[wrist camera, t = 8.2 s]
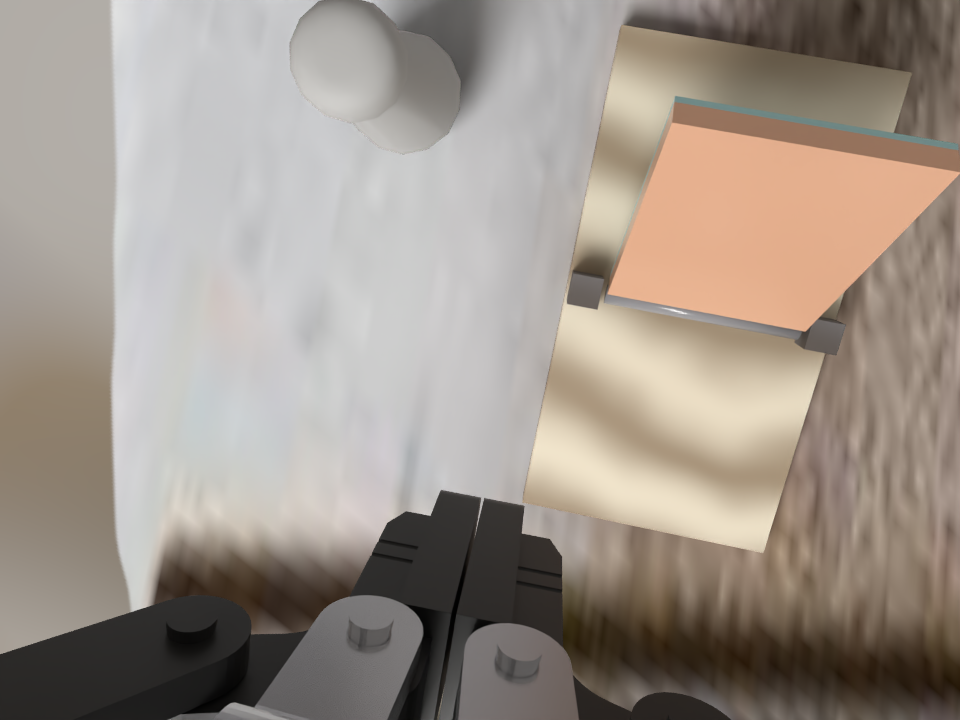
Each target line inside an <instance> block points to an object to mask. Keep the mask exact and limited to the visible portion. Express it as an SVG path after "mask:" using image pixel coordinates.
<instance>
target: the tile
mask: <svg viewBox="0 0 960 720" xmlns="http://www.w3.org/2000/svg"><path fill="white" fill-rule="evenodd" d="M959 174H960V159H959V150H958V144H955V143H950V142H944V141H938V140H932V139H926V138H920V137H914V136H908V135H903V134H897V133H891V132H885V131H879V130H873V129H867V128H861V127H856V126H850V125H844V124H838V123H832V122H826V121H820V120H814V119H809V118H803V117H797V116H791V115H785V114H779V113H773V112H767V111H762V110H756V109H750V108H744V107H738V106H732V105H726V104H720V103H715V102H709V101H703V100H697V99H691V98H685V97H679V96H675V98H674V100H673V103H672V106H671V108H670V111H669V114H668V117H667V119H666V122H665V125H664V128H663V130H662V133H661V136H660V139H659V141H658V144H657V147H656V150H655V152H654V155H653V158H652V161H651V163H650V166H649V169H648V172H647V174H646V177H645V180H644V183H643V185H642V188H641V191H640V194H639V196H638V199H637V202H636V205H635V207H634V210H633V213H632V216H631V218H630V221H629V224H628V227H627V229H626V232H625V235H624V238H623V240H622V243H621V246H620V249H619V251H618V254H617V257H616V260H615V262H614V265H613V268H612V271H611V274H610V281H609V285H607V287H606V291H605V296H604V303H605V304H610V305H616V306H621V307H626V308H631V309H637V310H642V311H647V312H652V313H658V314H663V315H668V316H673V317H679V318H684V319H689V320H694V321H700V322H705V323H710V324H715V325H721V326H726V327H731V328H736V329H742V330H747V331H752V332H757V333H763V334H768V335H773V336H779V337H784V338H789V339H794V340H797V339H799V337H800V335H801V333H802V331H804V332H805V331H806V330H807V329H808V328H809V327H810V326H811V325H812V324H813V323H814V322H815V321H816V320H817V319H818V318H819V317H820V316H821V315H822V314H823V313H824V312H825V311H826V310H827V309H828V308H829V307H830V306H831V305H832V304H833V303H834V302H835V301H836V300H837V299H838V298H839V297H840V296H841V295H842V294H843V293H844V292H845V291H846V290H847V288H848V287H849V286H850V285H851V284H852V283H853V282H854V281H855V280H856V279H857V278H858V277H859V276H860V275H861V274H862V273H863V272H864V271H865V270H866V269H867V268H868V267H869V266H870V265H871V264H872V263H873V262H874V261H875V260H876V259H877V258H878V257H879V256H880V255H881V254H882V253H883V252H884V251H885V250H886V249H887V248H888V247H889V246H890V244H891V243H892V242H893V241H894V240H895V239H896V238H897V237H898V236H899V235H900V234H901V233H902V232H903V231H904V230H905V229H906V228H907V227H908V226H909V225H910V224H911V223H912V222H913V221H914V220H915V219H916V218H917V217H918V216H919V215H920V214H921V213H922V212H923V211H924V210H925V209H926V208H927V207H928V206H929V205H930V204H931V203H932V202H933V201H934V199H935V198H936V197H937V196H938V195H939V194H940V193H941V192H942V191H943V190H944V189H945V188H946V187H947V186H948V185H949V184H950V183H951V182H952V181H953V180H954V179H955V178H956V177H957V176H958V175H959Z"/></svg>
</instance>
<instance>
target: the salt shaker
mask: <svg viewBox="0 0 960 720" xmlns="http://www.w3.org/2000/svg"><path fill="white" fill-rule="evenodd" d="M290 70H291V72H292V75H293V77H294V79H295V81H296V84H297V86H298V88H299V91H300V93H301V95H302V96H303V97H304V98H305V99H306V100H307V101H308V102H310V103H311V104H312V105H313V106H314V107H315V108H317V109H318V110H319V111H320V112H321V113H322V114H323V115H325V116H328V117H331V118H334V119H338V120H341V121H345V122H348V123H353V124H354V125H355V126H356V128H357V129H358V130H359V131H360V132H361V133H362V134H363V135H365V136H366V137H367V138H368V139H369V140H370V141H371V142H372V143H374V144H375V145H376V146H377V147H378V148H381V149H385V150H388V151H392V152H395V153H399V154H402V155H404V154H409V153H413V152H418V151H423V150H427V149H429V148H430V147H431V146H433V145H434V144H435V143H437V142H438V141H439V140H440V139H442V138H443V137H444V136H446V135H447V134H448V133H449V131H450V129H451V127H452V124H453V122H454V120H455V118H456V116H457V114H458V112H459V109H460V89H461V80H460V78H459V76H458V73H457V71H456V69H455V67H454V64H453V62H452V60H451V57H450V55H449V54H447V53H446V52H445V51H444V50H443V49H442V48H441V47H440V46H439V45H438V44H437V43H436V42H435V41H434V40H433V39H432V38H431V37H429V36H425V35H420V34H416V33H412V32H408V31H404V30H398V28H397V26H396V25H395V23H394V22H393V21H392V20H391V19H390V18H389V17H388V16H387V15H386V14H385V13H383V12H382V11H381V10H380V9H379V8H378V7H377V6H376V5H375V4H373V3H370V2H366V1H362V0H322V1H319V2H317V3H316V4H315V5H314V6H313V7H312V8H311V9H310V10H309V11H308V12H306V13H305V14H304V15H303V16H302V17H301V18H300V19H299V22H298V24H297V26H296V29H295V31H294V34H293V36H292V38H291V41H290Z"/></svg>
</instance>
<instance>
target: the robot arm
mask: <svg viewBox="0 0 960 720" xmlns="http://www.w3.org/2000/svg"><path fill="white" fill-rule="evenodd" d="M480 502H481V498H480V497H475V496H470V495H464V494H459V493H454V492H449V491H443V490H441V491H440V493H439V496H438V498H437V501H436V504H435V506H434V509H433V511H432V514H431V516H427V515H422V514H417V513H412V512H407V511H406V512H404V513H403V514H401V515H400V516H398V517H396V518H395V519H393V520H391V521H390V522H388V523H387V525H386V527H385V529H384V531H383V533H382V534H381V536H380V538H379V542H377V544H376V546H375V548H374V550H373V552H372V556H370V558H369V560H368V562H367V564H366V566H365V568H364V569H363V571H362V573H361V575H360V577H359V579H358V581H357V583H356V585H355V587H354V589H353V591H352V593H351V595H350V597H348V598H344V599H341V600H338V601H336V602H334V603H332V604H330V605H329V606H328V607H326V608H325V609H324V610H323V611H322V612H321V614H320V615H319V616H318V618H317V619H316V620H315V622H314V623H313V625H312V626H311V628H310V629H309V630H307V631H303V632H297V633H289V634H254V635H251V620H250V617H249V615H248V614H247V612H246V611H245V610H244V609H243V608H242V607H240V606H239V605H237V604H236V603H234V602H232V601H229V600H227V599H223V598H219V597H214V596H200V595H197V596H186V597H180V598H175V599H172V600H168V601H165V602H162V603H159V604H155V605H152V606H149V607H146V608H143V609H140V610H137V611H134V612H131V613H128V614H125V615H121V616H118V617H115V618H112V619H109V620H106V621H102V622H99V623H97V624H93V625H90V626H87V627H84V628H81V629H78V630H74V631H71V632H68V633H65V634H62V635H59V636H56V637H53V638H50V639H47V640H43V641H40V642H37V643H34V644H31V645H28V646H25V647H22V648H18V649H16V650H12V651H10V652H6V653H3V654H0V720H437V716H438V711H439V707H440V703H441V698H442V694H443V698H442V704H441V710H440V717H439V720H731V719H730V718H728V717H727V716H726V715H725V714H723V713H722V712H721V711H719V710H717V709H716V708H714V707H713V706H711V705H709V704H707V703H705V702H703V701H701V700H698V699H696V698H693V697H690V696H687V695H683V694H678V693H668V692H662V693H654V694H650V695H647V696H645V697H643V698H642V699H640V700H639V701H638V702H637V703H636V704H635V706H634V707H633V710H632V712H631V711H629V710H626V709H624V708H622V707H620V706H618V705H615V704H613V703H611V702H609V701H607V700H605V699H603V698H601V697H599V696H597V695H596V694H594V693H593V692H591V691H590V690H588V689H587V688H586V687H585V686H583V685H582V684H581V683H580V682H579V681H578V680H577V679H576V678H575V677H574V675H573V673H572V666H571V662H570V659H569V657H568V655H567V653H566V652H565V650H564V649H563V616H562V556H561V555H560V553H559V552H558V550H557V549H556V547H555V546H554V545H553V543H552V542H551V540H550V539H547V538H542V537H537V536H531V535H526V534H521V533H522V524H523V515H524V506H523V505H517V504H512V503H507V502H502V501H496V500H491V499H486V498H484V502H483V506H482V510H481V514H480V518H479V522H478V527H477V521H478V515H479V509H480ZM476 527H477V531H476ZM475 533H476V535H475ZM444 685H445V686H444ZM443 690H444V692H443Z"/></svg>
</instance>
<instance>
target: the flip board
mask: <svg viewBox="0 0 960 720" xmlns="http://www.w3.org/2000/svg"><path fill="white" fill-rule="evenodd" d="M911 75H912V73H911V72H905V71H899V70H893V69H887V68H881V67H875V66H869V65H863V64H857V63H851V62H845V61H838V60H832V59H826V58H820V57H814V56H808V55H802V54H796V53H790V52H784V51H778V50H772V49H766V48H759V47H753V46H747V45H741V44H735V43H729V42H723V41H717V40H711V39H705V38H699V37H693V36H687V35H680V34H674V33H668V32H662V31H656V30H650V29H644V28H638V27H632V26H626V25H622V26H621V28H620V31H619V36H618V41H617V46H616V51H615V55H614V60H613V65H612V70H611V75H610V80H609V84H608V89H607V94H606V99H605V104H604V108H603V113H602V118H601V123H600V128H599V133H598V137H597V142H596V147H595V152H594V157H593V161H592V166H591V171H590V176H589V181H588V186H587V190H586V195H585V200H584V205H583V210H582V214H581V219H580V224H579V229H578V234H577V239H576V243H575V248H574V253H573V258H572V263H571V267H570V272H569V277H568V282H567V287H566V292H565V296H564V301H563V306H562V311H561V316H560V320H559V325H558V330H557V335H556V340H555V344H554V349H553V354H552V359H551V364H550V369H549V373H548V378H547V383H546V388H545V393H544V397H543V402H542V407H541V412H540V417H539V422H538V426H537V431H536V436H535V441H534V446H533V450H532V455H531V460H530V465H529V470H528V475H527V479H526V484H525V489H524V494H523V503H528V504H532V505H537V506H542V507H547V508H552V509H556V510H561V511H566V512H571V513H575V514H580V515H585V516H590V517H594V518H599V519H604V520H609V521H613V522H618V523H623V524H628V525H632V526H637V527H642V528H647V529H652V530H656V531H661V532H666V533H671V534H675V535H680V536H685V537H690V538H694V539H699V540H704V541H709V542H713V543H718V544H723V545H728V546H732V547H737V548H742V549H747V550H752V551H756V552H761V553H763V552H764V549H765V546H766V542H767V539H768V536H769V533H770V530H771V526H772V523H773V520H774V517H775V513H776V510H777V507H778V504H779V501H780V497H781V494H782V491H783V488H784V484H785V481H786V478H787V475H788V472H789V468H790V465H791V462H792V459H793V455H794V452H795V449H796V446H797V443H798V439H799V436H800V433H801V430H802V427H803V423H804V420H805V417H806V414H807V410H808V407H809V404H810V401H811V398H812V394H813V391H814V388H815V385H816V381H817V378H818V375H819V372H820V369H821V365H822V362H823V359H824V356H825V353H826V354H832V355H837V352H838V349H839V345H840V342H841V339H842V336H843V333H844V330H845V326H846V325H845V324H843V323H841V322H839V321H837V320H836V317H837V314H838V311H839V307H840V304H841V301H842V298H843V294H844V293H843V294H842V295H841V296H840V297H839V298H838V299H837V300H836V301H835V302H834V303H833V304H832V305H831V306H830V307H829V308H828V309H827V310H826V311H825V312H824V313H823V314H822V315H821V316H820V317H819V318H818V319H817V320H816V321H815V322H814V323H813V324H812V325H811V326H810V327H809V328H808V329H807V330H806V331H805V332H804V331H802V333H801V335H800V337H799V339H797V340H794V339H789V338H784V337H779V336H773V335H768V334H763V333H757V332H752V331H747V330H742V329H736V328H731V327H726V326H721V325H715V324H710V323H705V322H700V321H694V320H689V319H684V318H679V317H673V316H668V315H663V314H658V313H652V312H647V311H642V310H637V309H631V308H626V307H621V306H616V305H610V304H605V303H604V296H605V291H606V287H607V285H609V281H610V274H611V271H612V268H613V265H614V262H615V260H616V257H617V254H618V251H619V249H620V246H621V243H622V240H623V238H624V235H625V232H626V229H627V227H628V224H629V221H630V218H631V216H632V213H633V210H634V207H635V205H636V202H637V199H638V196H639V194H640V191H641V188H642V185H643V183H644V180H645V177H646V174H647V172H648V169H649V166H650V163H651V161H652V158H653V155H654V152H655V150H656V147H657V144H658V141H659V139H660V136H661V133H662V130H663V128H664V125H665V122H666V119H667V117H668V114H669V111H670V108H671V106H672V103H673V100H674V98H675V96H679V97H685V98H691V99H697V100H703V101H709V102H715V103H720V104H726V105H732V106H738V107H744V108H750V109H756V110H762V111H767V112H773V113H779V114H785V115H791V116H797V117H803V118H809V119H814V120H820V121H826V122H832V123H838V124H844V125H850V126H856V127H861V128H867V129H873V130H879V131H885V132H891V133H894V130H895V127H896V124H897V121H898V117H899V114H900V111H901V108H902V104H903V101H904V98H905V95H906V92H907V88H908V85H909V82H910V79H911Z"/></svg>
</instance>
